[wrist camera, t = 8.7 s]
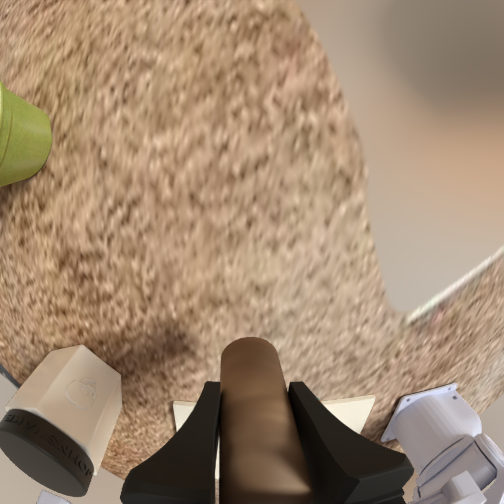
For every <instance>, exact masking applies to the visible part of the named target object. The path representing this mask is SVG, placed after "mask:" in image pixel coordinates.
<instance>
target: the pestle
mask: <svg viewBox="0 0 504 504" xmlns="http://www.w3.org/2000/svg"><path fill="white" fill-rule="evenodd" d="M220 382H221V388H220V419H219V504H310V503H311V502H312V501H313V500H314V498H315V495H314V491H313V487H312V483H311V479H310V476H309V472H308V468H307V464H306V460H305V457H304V453H303V449H302V445H301V441H300V438H299V434H298V430H297V426H296V422H295V418H294V415H293V411H292V407H291V403H290V399H289V396H288V392H287V388H286V384H285V380H284V376H283V373H282V369H281V365H280V361H279V357H278V354H277V351H276V349H275V347H274V346H273V345H272V344H271V343H269V342H268V341H266V340H264V339H261V338H257V337H245V338H240V339H238V340H235V341H233V342H232V343H230V344H229V345H228V346H227V347H226V348H225V349H224V351H223V353H222V356H221V373H220Z"/></svg>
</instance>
